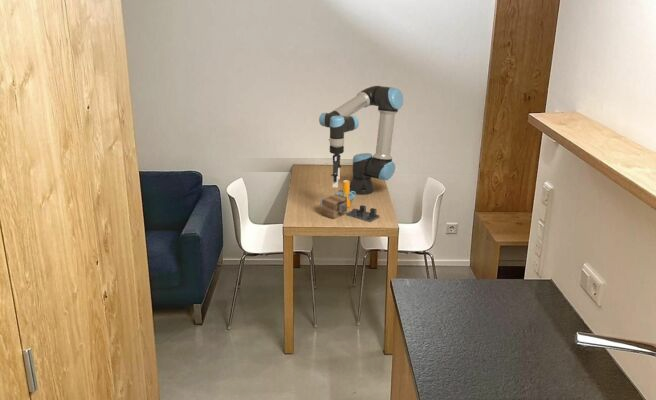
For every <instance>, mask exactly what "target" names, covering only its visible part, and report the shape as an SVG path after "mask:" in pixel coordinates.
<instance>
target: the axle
mask: <svg viewBox="0 0 656 400" xmlns="http://www.w3.org/2000/svg"><path fill="white" fill-rule="evenodd" d="M325 198H326V197H322V198H320V199H319V207H321V208H322V200H323V199H325ZM337 211H338V212H341V213H342V212H344V211H346V203H343V202H339V203H337Z"/></svg>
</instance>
